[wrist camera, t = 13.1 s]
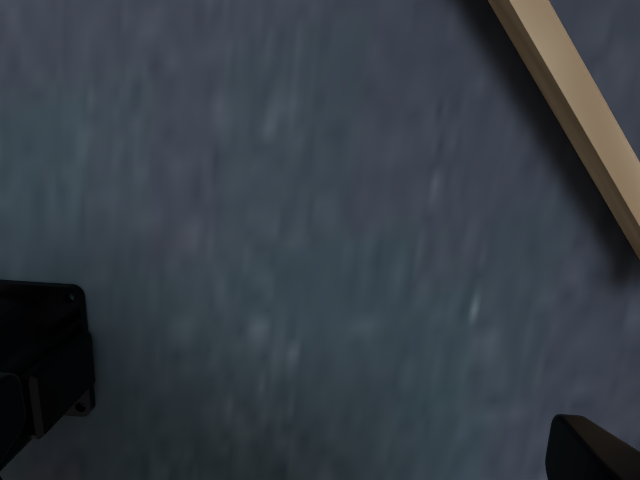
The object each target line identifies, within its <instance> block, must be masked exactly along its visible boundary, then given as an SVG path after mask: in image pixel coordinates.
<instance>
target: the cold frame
mask: <svg viewBox="0 0 640 480" xmlns="http://www.w3.org/2000/svg"><path fill="white" fill-rule="evenodd" d="M488 2H489V4H490V5H491V7H492V9H493V10H494V12H495V14H496V16H497V17H498V19H499V21H500V22H501V24H502V26H503V27H504V29H505V31H506V33H507V34H508V36H509V38H510V39H511V41H512V43H513V45H514V46H515V48H516V50H517V51H518V53H519V55H520V57H521V58H522V60H523V62H524V63H525V65H526V67H527V69H528V70H529V72H530V74H531V75H532V77H533V79H534V80H535V82H536V84H537V86H538V87H539V89H540V91H541V92H542V94H543V96H544V98H545V99H546V101H547V103H548V104H549V106H550V108H551V110H552V111H553V113H554V115H555V116H556V118H557V120H558V121H559V123H560V125H561V127H562V128H563V130H564V132H565V133H566V135H567V137H568V139H569V140H570V142H571V144H572V145H573V147H574V149H575V151H576V152H577V154H578V156H579V157H580V159H581V161H582V163H583V164H584V166H585V168H586V169H587V171H588V173H589V174H590V176H591V178H592V180H593V181H594V183H595V185H596V186H597V188H598V190H599V192H600V193H601V195H602V197H603V198H604V200H605V202H606V204H607V205H608V207H609V209H610V210H611V212H612V214H613V216H614V217H615V219H616V221H617V222H618V224H619V226H620V227H621V229H622V231H623V233H624V234H625V236H626V238H627V239H628V241H629V243H630V245H631V246H632V248H633V250H634V251H635V253H636V255H637V257H638V258H639V260H640V162H639V161H638V159H637V157H636V155H635V153H634V152H633V150H632V148H631V146H630V145H629V143H628V141H627V139H626V137H625V136H624V134H623V132H622V130H621V128H620V127H619V125H618V123H617V121H616V120H615V118H614V116H613V114H612V112H611V111H610V109H609V107H608V105H607V104H606V102H605V100H604V98H603V96H602V95H601V93H600V91H599V89H598V88H597V86H596V84H595V82H594V80H593V79H592V77H591V75H590V73H589V71H588V70H587V68H586V66H585V64H584V63H583V61H582V59H581V57H580V55H579V54H578V52H577V50H576V48H575V47H574V45H573V43H572V41H571V39H570V38H569V36H568V34H567V32H566V31H565V29H564V27H563V25H562V23H561V22H560V20H559V18H558V16H557V15H556V13H555V11H554V9H553V7H552V6H551V4H550V2H549V0H488Z"/></svg>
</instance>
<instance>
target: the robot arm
mask: <svg viewBox="0 0 640 480" xmlns="http://www.w3.org/2000/svg"><path fill="white" fill-rule="evenodd" d="M68 293H71V294H72V295H73V296H74V300H72V299H71V298H70V297H69V295H68ZM94 383H95V373H94V363H93V352H92V342H91V335H90V333H89V331H88V326H87V316H86V306H85V296H84V292H83V290H82V289H81V288H80V287H79V286H77V285H74V284H61V283H45V282H29V281H13V280H0V471H1V470H2V469H3V468H4V467H5V466H6V465H7V464H8V463H9V462H10V461H11V460H12V459H13V458H14V457H15V456H16V455H17V454H18V453H19V452H20V451H21V450H22V449H23V448H24V447H25V446H26V445H27V443H28V442H29V441H30V440H31V439H40V438H41V437H43V436H44V435H45V434H46V433H47V432H48V431H49V430H50V429H51V428H52V427H53V425H54V424H55V423H56V422H57V421H58V420H59V419H60V418H61V417H62V416H63V415H68V416H80V417H83V416H87V415H88V414H89V413H90V412H91V411H92V410H93V408H94V407H95V397H94V387H93V384H94ZM80 403H83V404H84V405H85V407H83V406H82V405H81V404H80ZM545 465H546V473H547V477H548V480H640V452H639V451H638V450H636V449H635V448H633V447H631V446H630V445H628V444H627V443H625V442H623V441H622V440H620V439H619V438H617V437H615V436H614V435H612V434H611V433H609V432H607V431H606V430H604V429H603V428H601V427H599V426H598V425H596V424H595V423H593V422H592V421H590V420H588V419H587V418H585V417H583V416H579V415H566V414H557V415H556V416H554V418H553V420H552V423H551V428H550V434H549V440H548V446H547V452H546V459H545ZM0 480H2V478H1V477H0Z"/></svg>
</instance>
